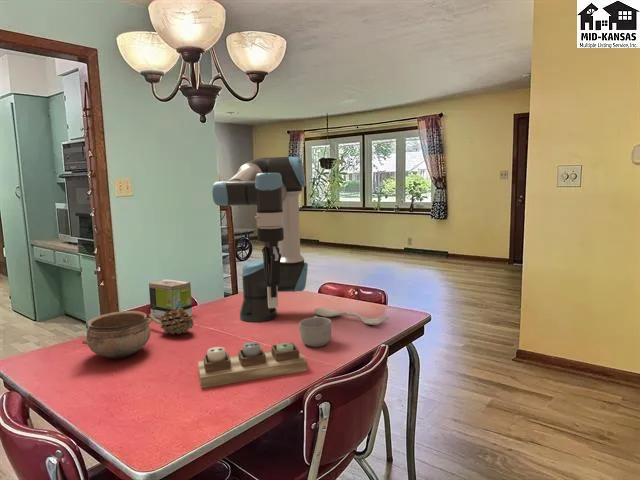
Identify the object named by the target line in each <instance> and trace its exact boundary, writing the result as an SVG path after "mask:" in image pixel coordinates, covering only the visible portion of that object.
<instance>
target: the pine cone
mask: <svg viewBox="0 0 640 480" xmlns="http://www.w3.org/2000/svg"><path fill="white" fill-rule="evenodd" d="M148 318H150V319H151V322H154V323H156V324H158V325H159V326H160V329H162V330H163V333H165V334H171V335H175V334H178V335H180V334H182V333H187V332H189V330H190V329H192V328H193V327H194V326H195V323H194V318H193V317H192V316H191V314H189V313H187V310H186V311H184V310H183V308H178V309H177V310H176V309H172V311H170V312H168V311H167V312H166V313H165V314H164V315H162V316H161V318H159V319H158V318H157V317H153V315H151V313H149V314H148Z"/></svg>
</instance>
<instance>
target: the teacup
mask: <svg viewBox="0 0 640 480" xmlns="http://www.w3.org/2000/svg"><path fill="white" fill-rule="evenodd" d="M298 326H299V333H300V337H301V341H302V342H303V343H304V344H305V345H306V346H308V347H311V348H318V347H319V348H320V347H324V346H325V345H327V343H328V342H329V341H330V340H331V339H332V320H331V319H330V318H329V317H323V316H319V315H318V316H317V315H314V316H313V317H308V318H304V319H302V320H300V321H299V324H298Z"/></svg>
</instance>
